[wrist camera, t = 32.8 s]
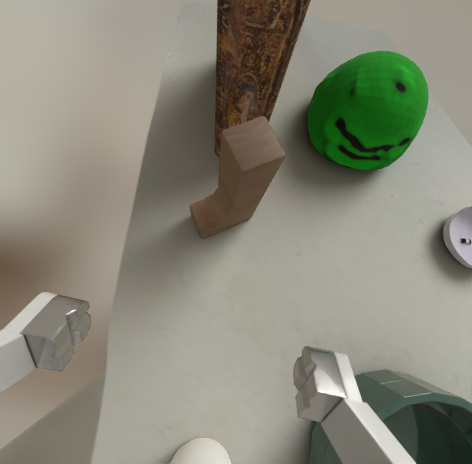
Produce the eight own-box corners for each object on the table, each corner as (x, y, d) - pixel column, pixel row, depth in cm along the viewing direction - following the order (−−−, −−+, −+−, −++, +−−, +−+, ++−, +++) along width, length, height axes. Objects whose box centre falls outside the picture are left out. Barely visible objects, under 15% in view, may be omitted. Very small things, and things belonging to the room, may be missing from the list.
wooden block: (240, 194, 31) (265, 113, 17) (251, 217, 31) (287, 155, 16) (191, 214, 30) (172, 146, 16) (202, 239, 30) (193, 192, 15)
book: (255, 166, 32) (387, -198, 8) (213, 160, 32) (217, -241, 8) (266, 62, 36) (378, -404, 12) (228, 55, 36) (263, -440, 11)
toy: (294, 159, 33) (328, 105, 23) (311, 78, 36) (348, 1, 27) (390, 186, 34) (463, 144, 24) (400, 104, 37) (467, 38, 27)
